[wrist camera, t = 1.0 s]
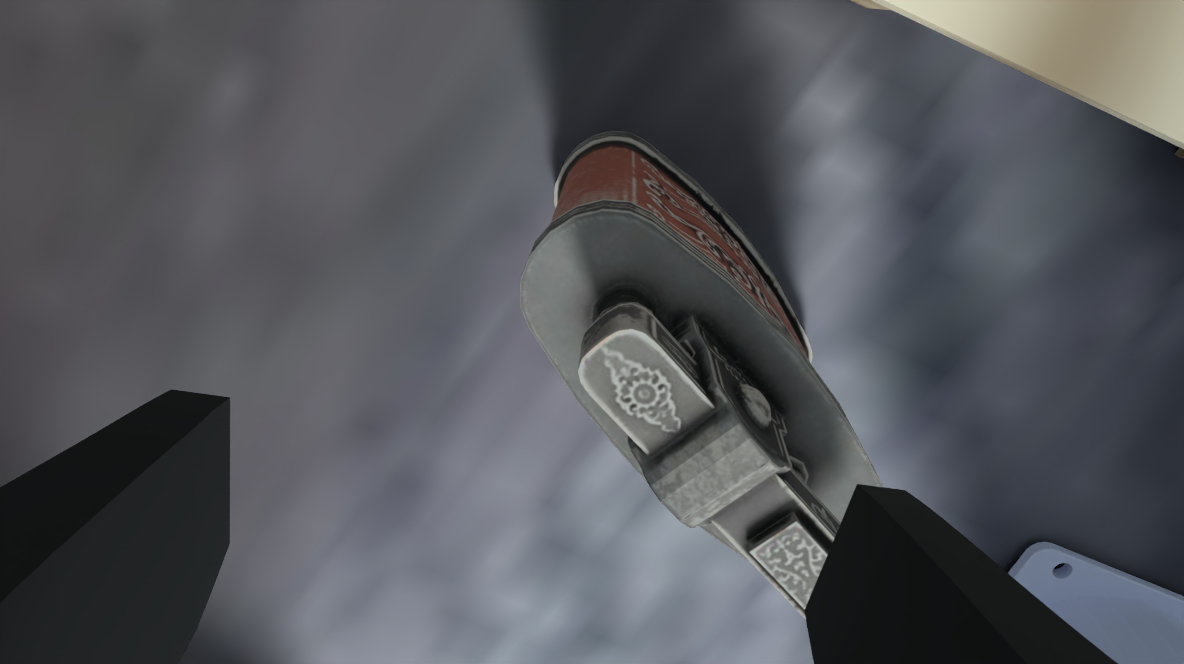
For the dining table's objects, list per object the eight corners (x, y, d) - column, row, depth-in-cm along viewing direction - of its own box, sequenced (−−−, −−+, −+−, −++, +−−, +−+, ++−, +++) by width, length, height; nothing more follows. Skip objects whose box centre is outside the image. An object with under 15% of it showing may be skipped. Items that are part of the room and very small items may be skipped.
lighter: (524, 192, 20) (435, 369, 11) (632, 96, 19) (635, 202, 10) (730, 419, 22) (803, 727, 13) (837, 343, 21) (997, 619, 12)
